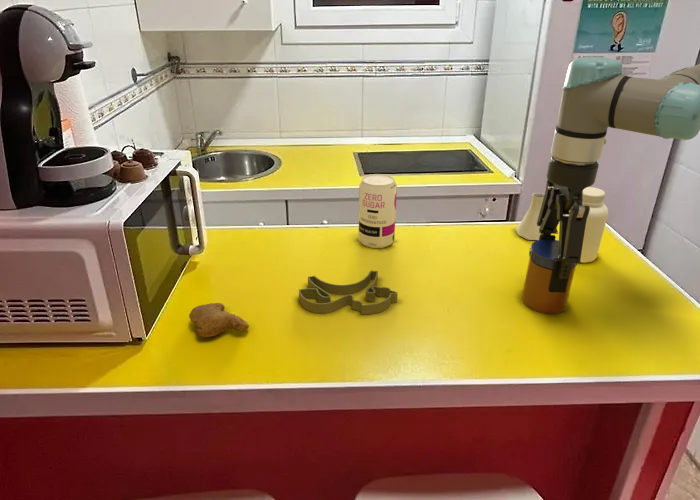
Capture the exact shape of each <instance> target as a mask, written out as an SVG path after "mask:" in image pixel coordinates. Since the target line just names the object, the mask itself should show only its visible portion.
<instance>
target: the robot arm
mask: <svg viewBox="0 0 700 500" xmlns="http://www.w3.org/2000/svg"><path fill="white" fill-rule="evenodd" d="M561 90H562V93H561V98H560V103H559V110H558V116H557V120H556V121H557V122H556V126H555V129H554V132H553V137H552V144H551V149H550V154H551V157H550V158H549V162H548V165H547V171H546V185H545V192H544V194H545V195H544V198H543V202H542V206H541V209H540V213H539V217H538V220H537V226H540V228H539V233H540V234H541V235H540V236H539V240H543V239H552V240H556V235H558V241H559V250H558V258H554V266H553V271H552V275H551V280H550V284H549V289H548V290H549V292H563V293H565V291H566V287H567V282H568V278H569V274H570V270H571V266H572V263H577V265H578V264H581V262H580V259H581V253H582V246H583V239H584V233H585V226H586V220H587V217H588V214H589V211H590V207H589V206H584V205H583V204H582V202H583V190H584V189H585V188H587V187H593V185H594V184H595V182H596V178H597V174H598V169H599V162H598V161H600V159H601V156H602V151H603V147H604V145H606V143H607V140H606V136H607V133H608V128H610V129H616V130H621V131H622V130H623V131H627V132H634V133H639V134H644V135H650V136H655V137H659V138H663V139H664V140H665V139H666V140H669V139H674V140H683V141H689V140H693V139H694V138H696V136H698V134H699V132H700V63H698V64H695V65H692V66H689V67H688V66H687V67H684V68H680V69H678V70H675V71H673V72H671V73H669V74H668V75H665V76H664V77H662V78H661V77H660V78H658V79H654V78H644V77H633V76H628V75H625V74H623V63H622V61H621V60H619V59H616V58H610V57H601V56H584V57H583V56H582V57H577V58H575V59H573V60H572V61H570V63H569V65H568V68H567V72H566V76H565V79H564V83H563V87H562V89H561ZM566 215H569V216H566ZM558 225H559V227H558ZM557 228H559V231H558V229H557Z"/></svg>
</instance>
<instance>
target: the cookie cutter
mask: <svg viewBox="0 0 700 500" xmlns="http://www.w3.org/2000/svg"><path fill="white" fill-rule="evenodd" d="M378 280H379V271H378V270H369V272H368V274H367V275H366V276H365V277H364V278H363V279H361V280H359V281H357V282H354V283H350V284H334V283H330V282H327V281H324V280H322V279H320V278H318V277H317V276H316V275H310V276H307V287H308V288H307V287H306V288H299V289H298V300H299V303H300V305H301V306H302V307H303V308H304V309H305V310H306V311H308V312H311V313H313V314H314V313H315V314H329V313H332V312H335V311H337V310H340V309H341V308H343V307H346V306H348V305H351V309H352V310H353V311H357V312H360V314H361V315H362V316H363V315H364V316H365V315H374V314H379V313H381V312H384V311H386V310H387V309H389V308H390V306H391V304H395V303H398V291H395V290H393V289H391V288H390V287H386V286H377V285H378ZM371 281H372V283H371ZM370 283H371V284H370ZM369 284H370V286H368V285H369ZM365 288H366V289H365ZM364 289H365V301H366V302H367V304H366V303H365V304H364V303H363V301H361V300H356V299H355V297H354V295H353V294H355V293H359V292H361V291H363V290H364ZM331 294H332V295H339V296H340V297H339V298H337V299H335V300H332V301H331ZM341 295H343V296H341ZM376 297H377V298H386V299H384V300H382V301H379V302H375V301H376ZM309 299H316V300H317V302H315V301H311V300H309ZM374 302H375V303H374Z"/></svg>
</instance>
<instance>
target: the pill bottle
mask: <svg viewBox="0 0 700 500" xmlns="http://www.w3.org/2000/svg"><path fill="white" fill-rule="evenodd" d="M605 196H606V192H605V191H604V190H602V189H601V188H597V187H593V186H590V187H587V188H585V189H584V190H583V202H582V204H583V205H584V206H589V207H590V211H589V214H588V217H587V220H586V226H585V233H584V239H583V246H582V253H581V259H580V263H584V264H585V263H591V262H593V261H595V260H596V259H597V257H598V254H599V251H600V247H601V242H602V238H603V236H604V235H603V234H604V231H605V227H606V223H607V220H608V216H609V208H608V206H607V205H606V204H605V203H604V202H605V198H606V197H605ZM565 216H569V215H565Z"/></svg>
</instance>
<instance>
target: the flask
mask: <svg viewBox="0 0 700 500" xmlns="http://www.w3.org/2000/svg"><path fill="white" fill-rule="evenodd" d="M544 195H545V193H543V192H534V193H531V198H532V199H531V202H530V206H529V207H528V209H527V211H526V213H525V215H524V216H523V218H522V219H521V221H520V222H519V224H518V226H517V227H516V228H515V231H516V233H517V235H518V236H520V237H521V238H524V239H525V240H529V241H530V240H531V241H537V240H539V236H540V235H541V234H540V233H539V228H540V226H537V220H538V217H539V213H540V209H541V206H542V202H543V198H544Z"/></svg>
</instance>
